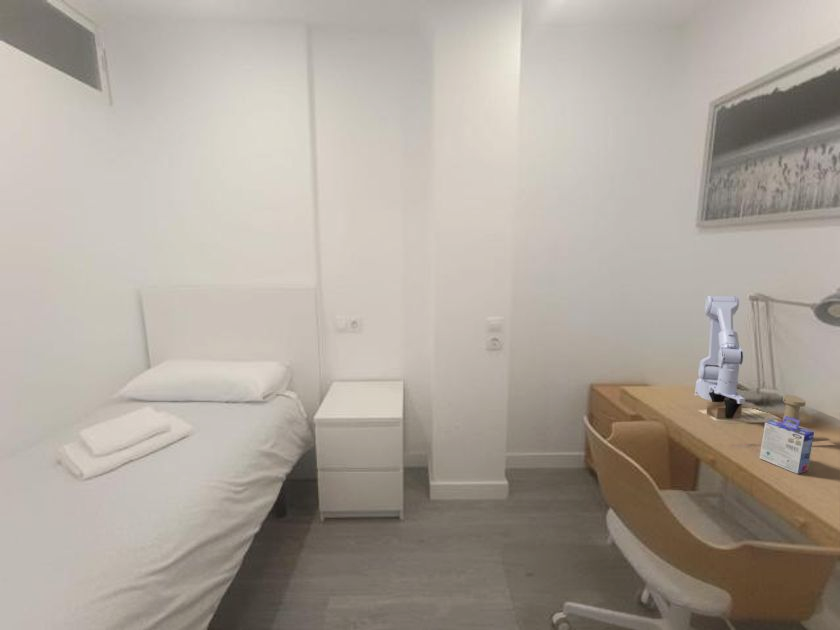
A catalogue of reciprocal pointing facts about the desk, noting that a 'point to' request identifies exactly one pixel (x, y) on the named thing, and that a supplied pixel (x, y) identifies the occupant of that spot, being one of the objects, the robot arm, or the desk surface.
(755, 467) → the desk surface
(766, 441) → the ink cartridge box
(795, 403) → the handle
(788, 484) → the desk surface
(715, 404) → the sanding block
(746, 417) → the sanding board
